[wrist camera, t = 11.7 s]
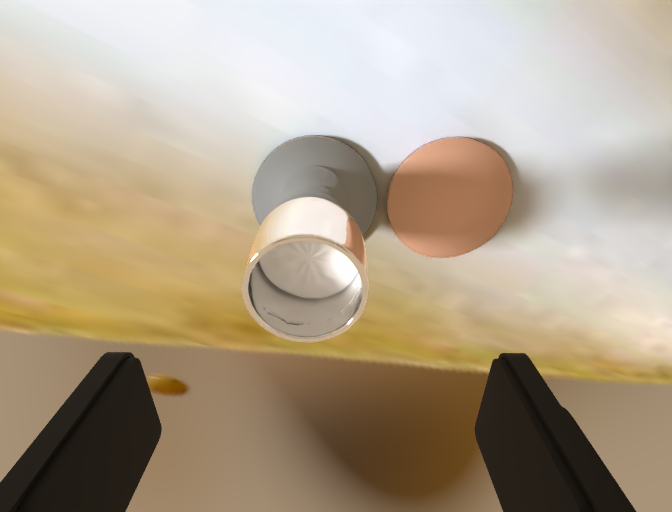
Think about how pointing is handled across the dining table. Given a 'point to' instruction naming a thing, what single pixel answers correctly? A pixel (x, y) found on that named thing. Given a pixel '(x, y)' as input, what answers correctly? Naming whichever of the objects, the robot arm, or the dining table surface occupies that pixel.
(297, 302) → the beer glass
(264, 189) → the slate coaster
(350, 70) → the dining table surface
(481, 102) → the dining table surface
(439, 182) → the terracotta coaster
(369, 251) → the dining table surface
